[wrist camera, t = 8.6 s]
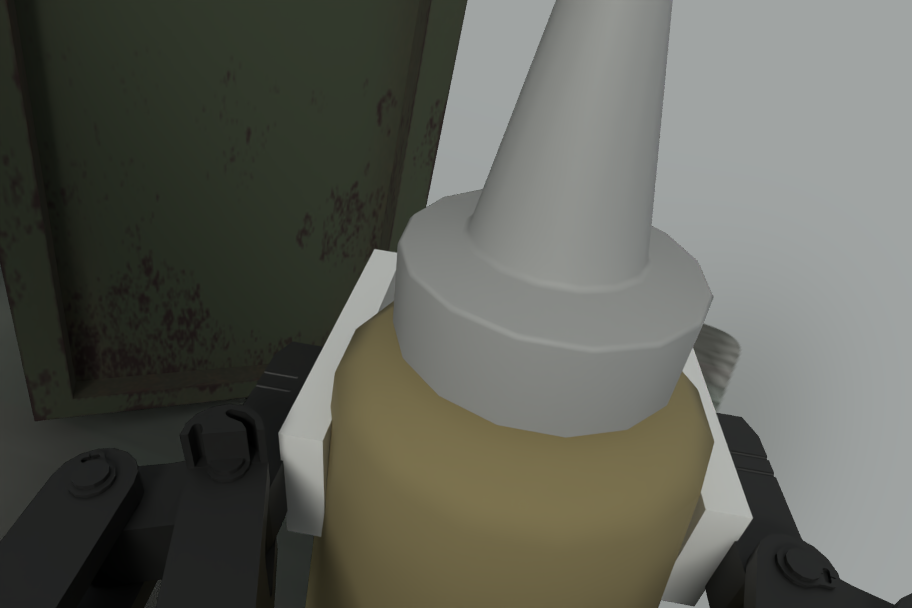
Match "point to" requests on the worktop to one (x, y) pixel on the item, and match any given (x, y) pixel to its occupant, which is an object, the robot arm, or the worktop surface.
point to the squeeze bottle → (530, 361)
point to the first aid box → (203, 182)
